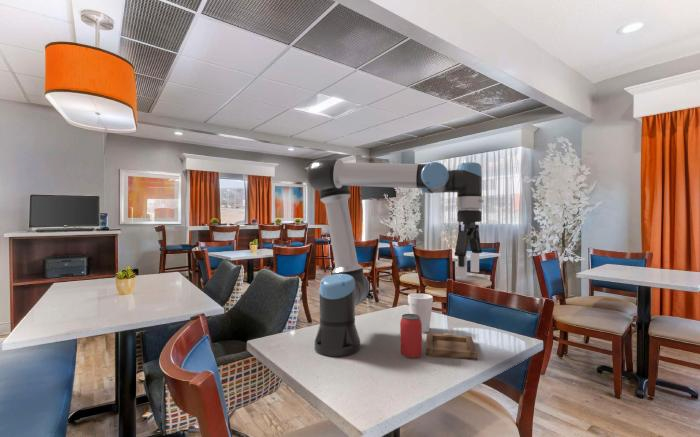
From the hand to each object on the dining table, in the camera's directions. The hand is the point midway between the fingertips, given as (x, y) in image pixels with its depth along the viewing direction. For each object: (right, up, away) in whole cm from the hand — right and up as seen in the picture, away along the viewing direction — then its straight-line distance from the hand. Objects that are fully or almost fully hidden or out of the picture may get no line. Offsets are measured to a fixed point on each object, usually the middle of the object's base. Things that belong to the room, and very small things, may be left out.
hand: (468, 274), depth 108 cm
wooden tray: (-6, -24, -1) cm, 25 cm away
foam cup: (-12, -25, +18) cm, 33 cm away
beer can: (-20, -24, -6) cm, 32 cm away
